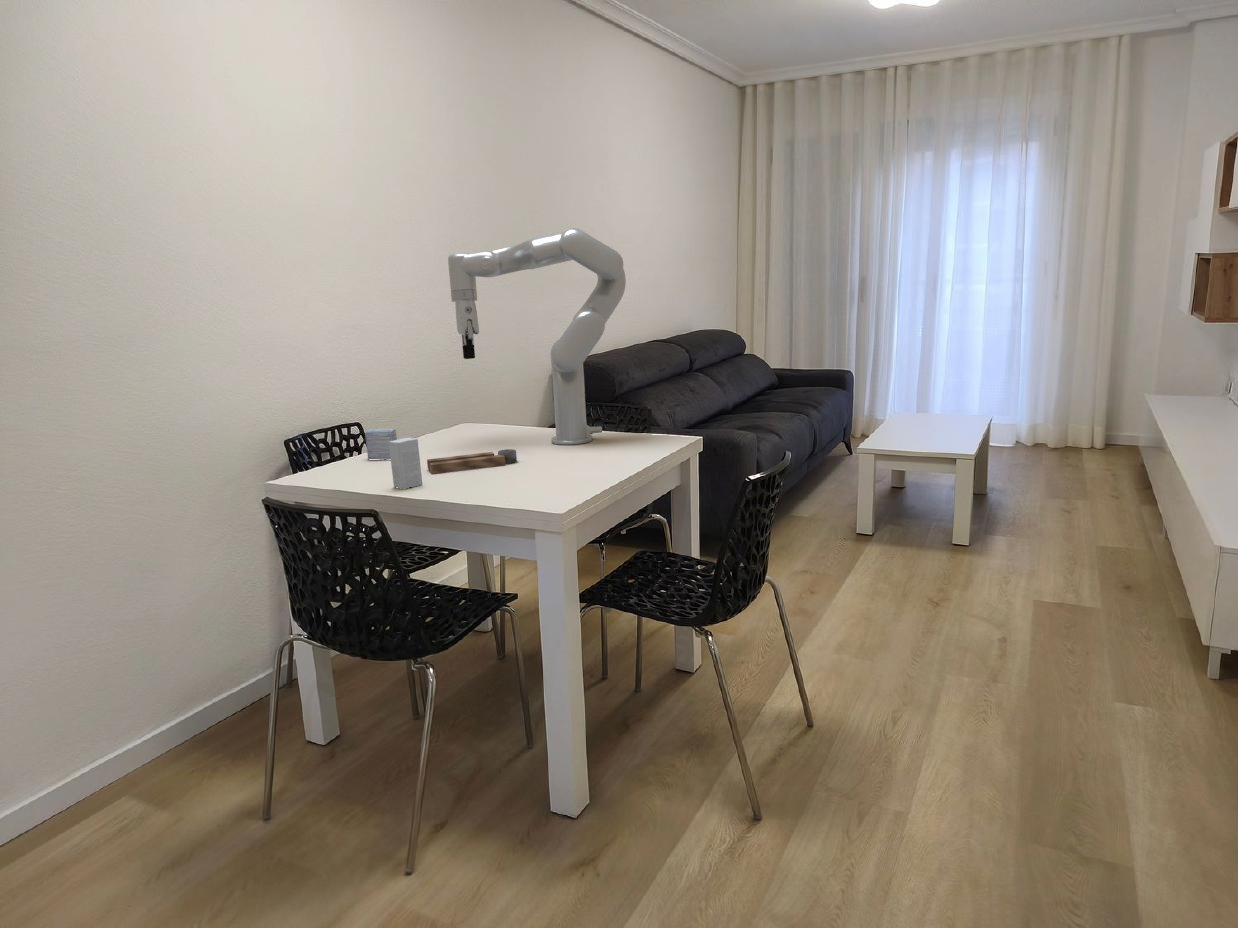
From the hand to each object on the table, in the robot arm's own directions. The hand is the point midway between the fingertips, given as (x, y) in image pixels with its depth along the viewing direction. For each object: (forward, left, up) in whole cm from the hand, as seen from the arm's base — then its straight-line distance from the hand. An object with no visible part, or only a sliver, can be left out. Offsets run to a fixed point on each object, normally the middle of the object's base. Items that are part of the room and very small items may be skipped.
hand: (469, 358), depth 264 cm
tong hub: (+7, +29, -27) cm, 40 cm away
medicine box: (+28, +2, -27) cm, 39 cm away
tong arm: (+10, +26, -27) cm, 39 cm away
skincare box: (+26, +43, -27) cm, 57 cm away
